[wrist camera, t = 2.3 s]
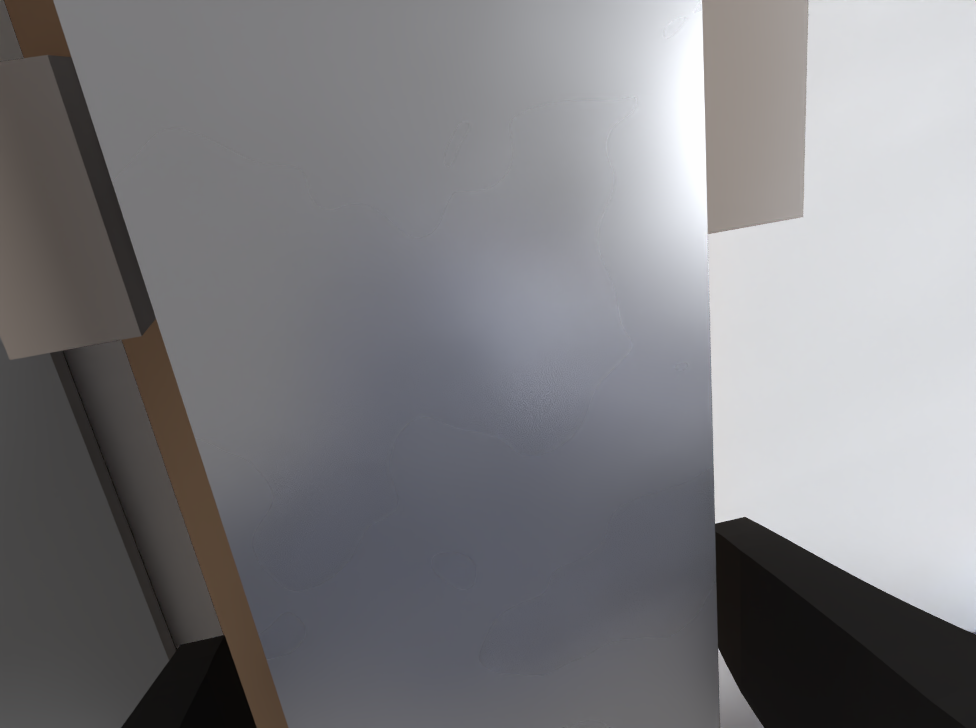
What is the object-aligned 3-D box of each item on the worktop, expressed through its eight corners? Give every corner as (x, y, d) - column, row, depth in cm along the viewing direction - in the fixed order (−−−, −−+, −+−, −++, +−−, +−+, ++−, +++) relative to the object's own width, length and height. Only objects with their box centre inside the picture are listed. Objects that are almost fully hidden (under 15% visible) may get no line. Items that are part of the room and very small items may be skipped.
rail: (519, -299, 7) (685, -671, 4) (643, 998, 16) (733, 1279, 12) (110, -261, 7) (-156, -641, 3) (458, 1053, 15) (493, 1362, 12)
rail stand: (646, -140, 10) (843, -287, 6) (691, 829, 18) (795, 1054, 14) (12, -64, 9) (-251, -179, 5) (341, 925, 17) (339, 1198, 13)
